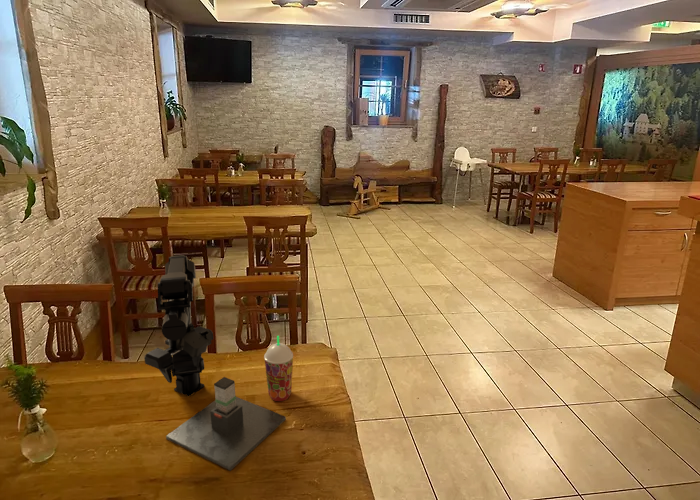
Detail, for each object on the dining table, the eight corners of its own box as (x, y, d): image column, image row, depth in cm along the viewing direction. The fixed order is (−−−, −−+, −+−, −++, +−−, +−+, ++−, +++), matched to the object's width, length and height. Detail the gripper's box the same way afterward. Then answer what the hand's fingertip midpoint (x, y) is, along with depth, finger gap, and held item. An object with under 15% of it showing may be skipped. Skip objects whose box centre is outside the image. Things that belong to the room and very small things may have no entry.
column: (226, 406, 129) (224, 376, 127) (236, 410, 128) (234, 380, 125) (216, 413, 126) (213, 383, 123) (227, 418, 125) (224, 387, 122)
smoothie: (260, 400, 141) (257, 339, 135) (275, 385, 148) (272, 327, 142) (285, 407, 138) (283, 345, 132) (299, 391, 145) (297, 332, 139)
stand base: (226, 395, 143) (224, 376, 141) (285, 419, 133) (285, 399, 131) (166, 439, 125) (163, 418, 123) (230, 470, 114) (228, 448, 112)
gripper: (170, 345, 114) (177, 401, 119) (226, 315, 129) (229, 366, 134) (139, 333, 119) (147, 387, 124) (196, 306, 135) (201, 355, 139)
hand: (183, 374), depth 130 cm, fingers open, 9 cm apart
